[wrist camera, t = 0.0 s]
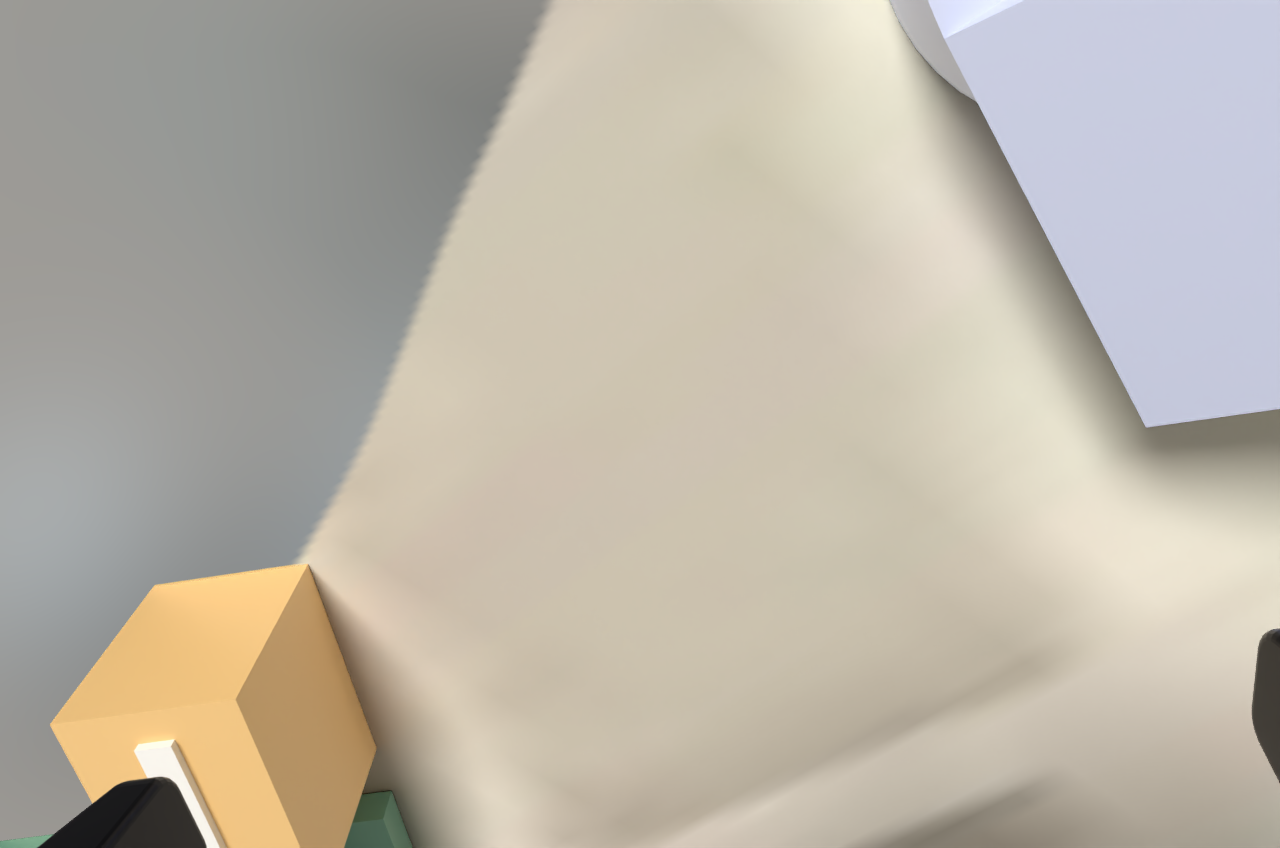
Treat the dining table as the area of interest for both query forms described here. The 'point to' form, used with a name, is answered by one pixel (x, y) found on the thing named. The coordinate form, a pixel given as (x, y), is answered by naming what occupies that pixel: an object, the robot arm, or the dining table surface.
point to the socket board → (371, 841)
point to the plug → (229, 710)
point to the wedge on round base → (1142, 174)
